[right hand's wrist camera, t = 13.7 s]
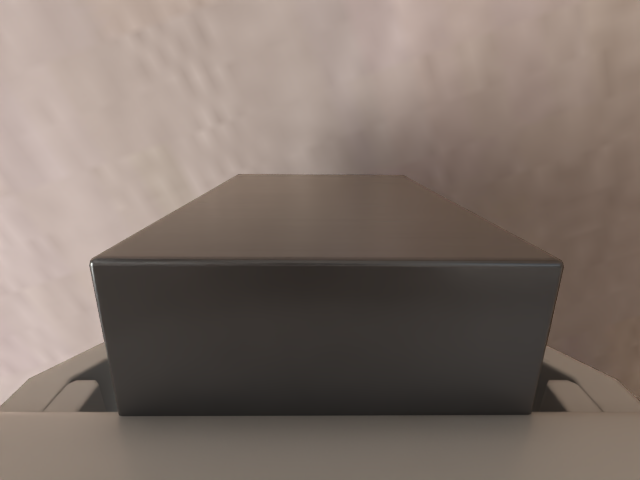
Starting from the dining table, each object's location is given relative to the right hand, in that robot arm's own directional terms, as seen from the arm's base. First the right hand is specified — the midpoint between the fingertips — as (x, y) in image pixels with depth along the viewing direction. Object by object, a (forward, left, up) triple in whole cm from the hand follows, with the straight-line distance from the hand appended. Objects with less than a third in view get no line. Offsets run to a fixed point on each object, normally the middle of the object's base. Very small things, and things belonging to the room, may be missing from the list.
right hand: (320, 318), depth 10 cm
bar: (+9, -5, -3) cm, 10 cm away
